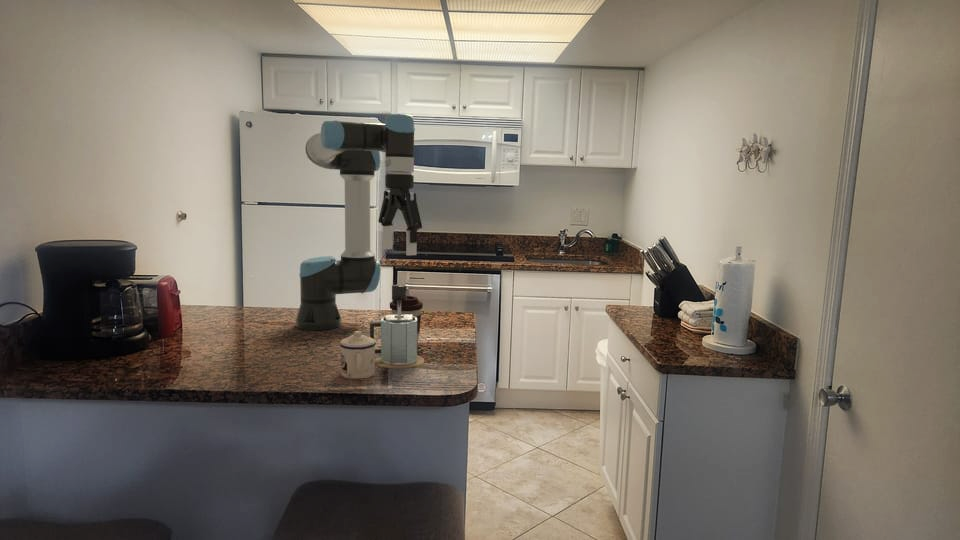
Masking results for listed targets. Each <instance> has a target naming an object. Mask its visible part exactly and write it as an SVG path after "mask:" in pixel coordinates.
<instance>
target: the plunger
mask: <svg viewBox="0 0 960 540" xmlns="http://www.w3.org/2000/svg"><path fill="white" fill-rule="evenodd" d="M407 287H408V286H407V285H406V284H393V285H391V300H393V301H394V300H397V318H401V300H406V299H407V296H408V293H407V292H408V291H407V290H408V289H407ZM397 323H401V322H397Z"/></svg>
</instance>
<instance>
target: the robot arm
mask: <svg viewBox="0 0 960 540" xmlns="http://www.w3.org/2000/svg"><path fill="white" fill-rule="evenodd" d="M415 130H416V128H415V119H414V117H413V115H411V114H405V113H389V114H387V115H386V116H385V122H384V123H372V122H371V123H370V122H369V123H368V122H354V121H353V122H351V121H339V120H325V121H323V122H322V124H321V127H320V133H319V132H318V133H315V134H313V135H312V136H310V137H309V139H308V140H307V141H306V144H305V155H306V156H307V158H308V159H309V160H310V162H312V163H313V164H314V165H315V166H318V167H320V168H323V169H326V170H327V169H328V170H339V176H340V177H341V178H342V179H343V180H344V248H345V249H344V251H343V252H342V253H341V254H340V259H339V260H337V259H336V258H335V256H331V255H328V256H318V257H313V258H307V259H305V260H303V261H302V262H301V263H300V265H299V283H300V284H299V286H300V291H299V292H300V293H299V294H300V305H299V308H298V310H297V314H296V318H295V327H296V328H297V329H299V330H305V331H306V330H307V331H324V330H331V329H336V328H339V327H341V326H342V317H341V314H340V311H339V308H338V305H337V300H336V299H337V298H336V297H337V295H344V294H347V295H349V294H365V293H371V292H374V291H376V290H377V287H378V286H379V283H380V279H381V263H380V261H379V260H378V259H377V258H376V255H375V253H374V252H373V251H372V250H371V180H372V179H373V178H374V177H375V176H376V175H375V172H377V171H379V170H380V168H381V165H380V164H381V152H382V153H385V160H384V164H385V172H386V174H385V177H384V178H385V188H387V189H389V190H384V191H383V200H382V204H381V208H380V212H379V216H378V221H377V222H378V223H379V224H381V226H382V250H393V248H394V247H393V242H394V240H393V238H394V237H393V230H394V229H393V228H394V225H393V222H394V221H393V220H394V218H395V216H396V214H397V212H398V210H399V211H401V214H402V216H403V219H404V221H405V224H406V228H405V229H406V230H405V231H406V232H405V234H406V242H405V243H406V246H405V247H406V249H405V250H406V251H405V255H406V256H417V249H418V248H417V245H418V243H417V242H418V239H417V238H418V231H419V230H421V229H422V228H423V225H422V219H421V216H420V215H421V214H420V211H419V206H418V203H417V194H416V192H410V190H411V189H413V188H414V184H415V183H414V177H415V176H414V175H413V173H414V172H415V163H414V162H415V156H414V153H415Z"/></svg>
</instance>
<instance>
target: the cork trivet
mask: <svg viewBox="0 0 960 540" xmlns="http://www.w3.org/2000/svg"><path fill="white" fill-rule="evenodd" d="M424 362H425V359H424V357H422V356H420V355H418V354H417V362H416V363H414V364H411V365H406V366H390V365H386V364H383V363H382V362H381V355H380V356H377V357H375V366H379V367H381V368H386V369H410V368H414V367H419V366H420V365H422V364H424Z"/></svg>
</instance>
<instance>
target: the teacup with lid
mask: <svg viewBox="0 0 960 540" xmlns="http://www.w3.org/2000/svg"><path fill="white" fill-rule="evenodd" d="M376 345H377V341H376V339H375V338H374V339H373V338H370V336H367V335H365V334H363V332H362V330H355V331H354V332H353V334H351V335H350V336H348V337H345V338H343V339H341V340H340V342H339V346H340V374H341V376H342V377H344V378H347V379H365V378H369V377H372V376H374V375H375V374H376V364H375V358H376V353H375V349H376Z"/></svg>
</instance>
